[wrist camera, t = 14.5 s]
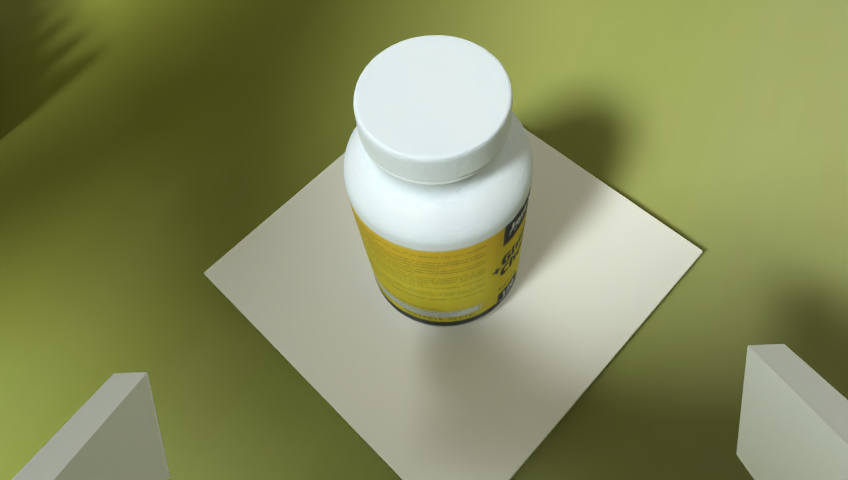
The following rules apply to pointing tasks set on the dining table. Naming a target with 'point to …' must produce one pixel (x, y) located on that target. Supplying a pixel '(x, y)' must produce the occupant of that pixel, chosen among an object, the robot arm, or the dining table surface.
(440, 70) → the pill bottle
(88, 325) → the dining table surface
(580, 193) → the cream tile
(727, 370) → the dining table surface
